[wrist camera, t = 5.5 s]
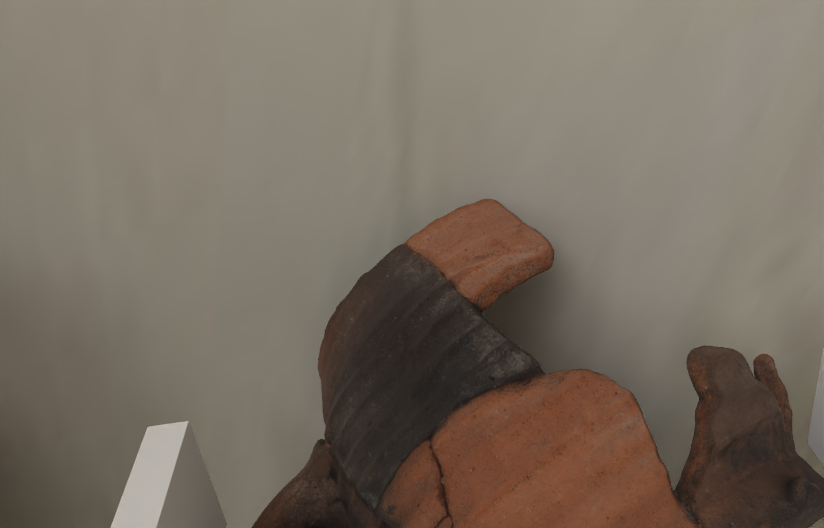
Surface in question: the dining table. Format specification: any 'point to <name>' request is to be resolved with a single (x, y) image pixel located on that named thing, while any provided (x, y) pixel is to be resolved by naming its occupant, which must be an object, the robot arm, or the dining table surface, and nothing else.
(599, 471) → the pottery mug
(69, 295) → the dining table surface
